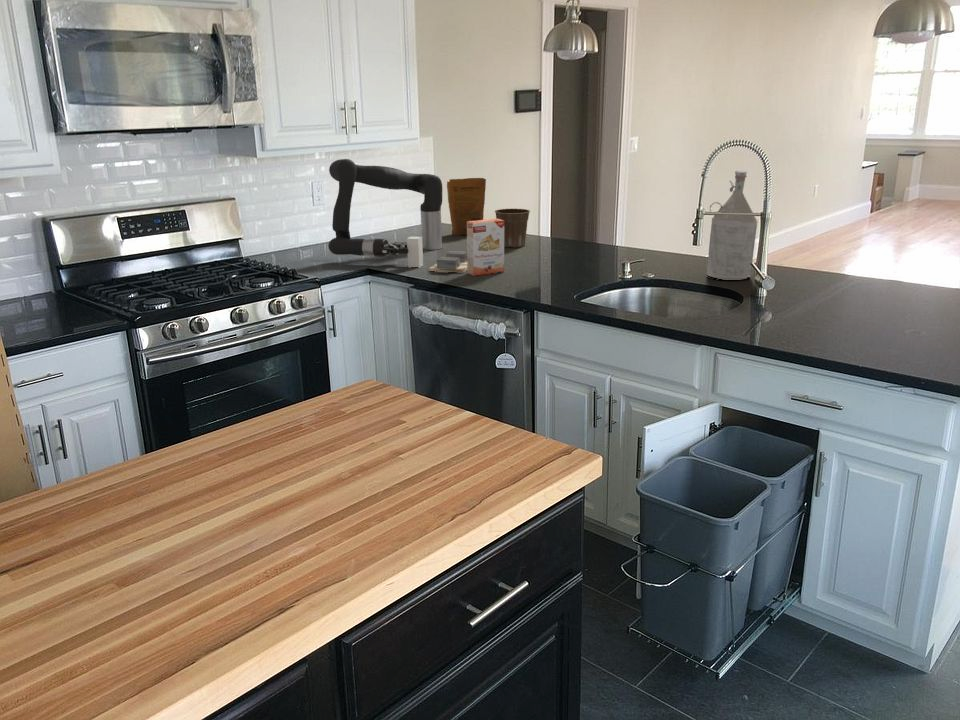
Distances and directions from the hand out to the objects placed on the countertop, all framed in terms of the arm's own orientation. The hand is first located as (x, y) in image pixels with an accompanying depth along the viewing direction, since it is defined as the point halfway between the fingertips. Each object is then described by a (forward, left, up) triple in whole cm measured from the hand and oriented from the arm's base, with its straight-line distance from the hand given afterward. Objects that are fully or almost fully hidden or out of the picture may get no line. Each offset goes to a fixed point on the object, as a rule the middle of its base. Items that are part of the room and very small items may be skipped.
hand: (411, 249), depth 320 cm
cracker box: (+6, +33, -7) cm, 35 cm away
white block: (0, +1, -7) cm, 7 cm away
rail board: (-1, +17, -7) cm, 19 cm away
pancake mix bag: (-74, +2, -7) cm, 74 cm away
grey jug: (-5, +125, -7) cm, 126 cm away
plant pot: (-51, +30, -8) cm, 60 cm away
